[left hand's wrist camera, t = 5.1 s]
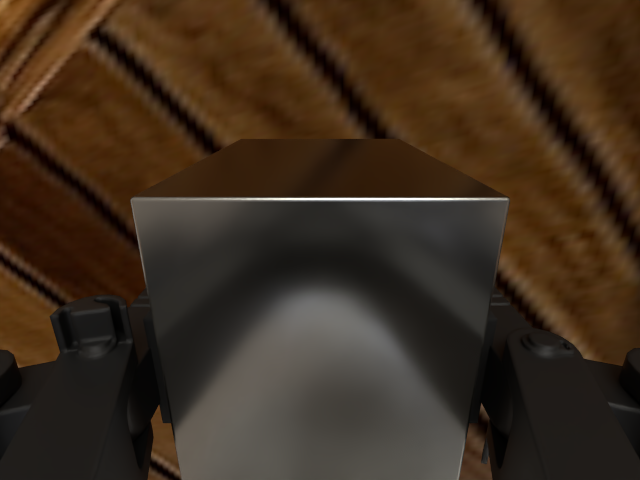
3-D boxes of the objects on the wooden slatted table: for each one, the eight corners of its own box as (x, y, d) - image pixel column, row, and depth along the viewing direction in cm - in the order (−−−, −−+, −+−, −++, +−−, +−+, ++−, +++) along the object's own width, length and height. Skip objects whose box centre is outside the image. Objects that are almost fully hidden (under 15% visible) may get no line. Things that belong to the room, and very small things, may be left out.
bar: (239, 138, 13) (127, 197, 5) (400, 138, 13) (512, 197, 5) (270, 552, 21) (241, 811, 13) (370, 553, 21) (398, 811, 13)
